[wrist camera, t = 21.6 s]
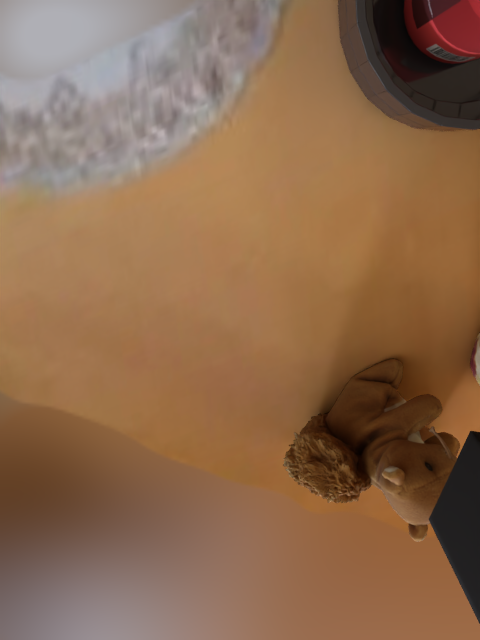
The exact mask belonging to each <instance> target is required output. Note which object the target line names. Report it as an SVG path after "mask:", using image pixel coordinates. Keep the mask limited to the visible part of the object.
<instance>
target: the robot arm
mask: <svg viewBox="0 0 480 640" xmlns="http://www.w3.org/2000/svg"><path fill="white" fill-rule="evenodd" d="M429 521H430V523H431V525H432V527H433V529H434V531H435V534H436V536H437V538H438V540H439V541H440V544H441V546H442V548H443V550H444V552H445V554H446V556H447V558H448V560H449V562H450V564H451V566H452V568H453V570H454V572H455V574H456V576H457V578H458V580H459V583H460V585H461V587H462V589H463V591H464V593H465V595H466V597H467V599H468V601H469V603H470V605H471V607H472V609H473V611H474V613H475V615H476V617H477V619H478V621H479V623H480V432H474V431H470V433H469V435H468V437H467V439H466V441H465V444H464V446H463V448H462V450H461V452H460V454H459V456H458V458H457V460H456V463H455V465H454V467H453V469H452V471H451V473H450V475H449V477H448V479H447V482H446V484H445V486H444V488H443V490H442V492H441V494H440V496H439V498H438V501H437V503H436V505H435V507H434V509H433V511H432V513H431V515H430V517H429Z"/></svg>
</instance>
